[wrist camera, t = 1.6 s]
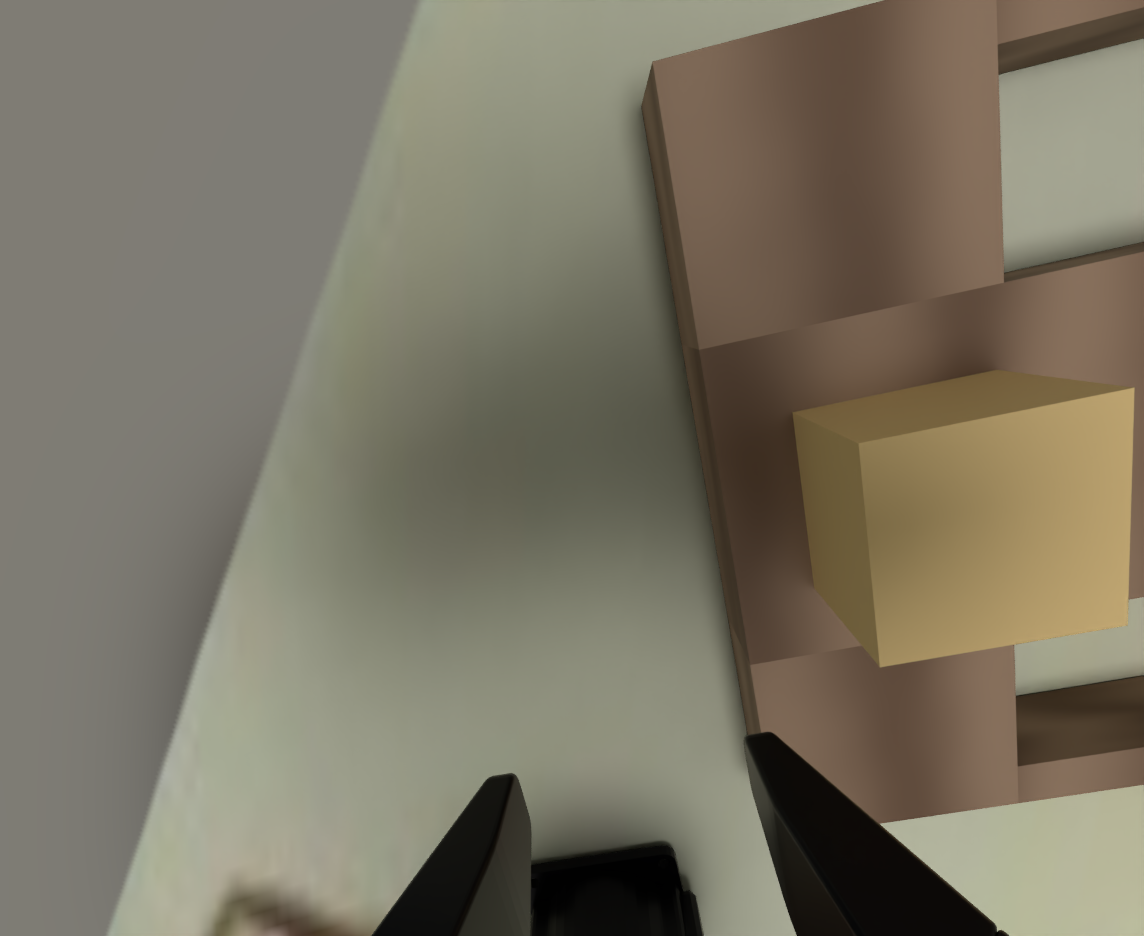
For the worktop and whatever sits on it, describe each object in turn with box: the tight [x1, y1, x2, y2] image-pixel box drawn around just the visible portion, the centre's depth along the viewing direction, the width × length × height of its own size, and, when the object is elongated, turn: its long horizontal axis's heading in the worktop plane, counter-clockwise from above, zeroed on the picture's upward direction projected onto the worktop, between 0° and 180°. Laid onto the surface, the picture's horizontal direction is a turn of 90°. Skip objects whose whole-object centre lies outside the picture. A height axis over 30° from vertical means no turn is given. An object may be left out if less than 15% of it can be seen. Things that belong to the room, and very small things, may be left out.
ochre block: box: [792, 370, 1135, 667], centre depth 14 cm, size 6×6×4 cm
